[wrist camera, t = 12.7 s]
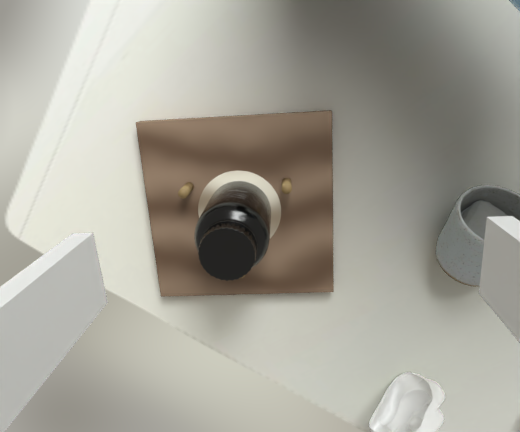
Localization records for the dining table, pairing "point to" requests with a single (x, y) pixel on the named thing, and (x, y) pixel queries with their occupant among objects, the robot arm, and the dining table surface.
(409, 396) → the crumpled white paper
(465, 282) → the ceramic mug
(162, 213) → the pin board
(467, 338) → the dining table surface
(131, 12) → the dining table surface
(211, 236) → the supplement bottle
